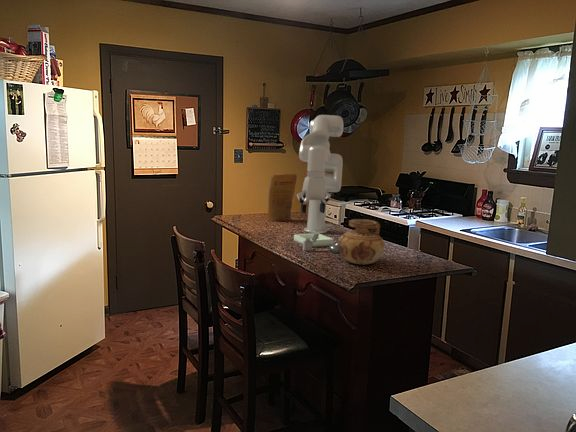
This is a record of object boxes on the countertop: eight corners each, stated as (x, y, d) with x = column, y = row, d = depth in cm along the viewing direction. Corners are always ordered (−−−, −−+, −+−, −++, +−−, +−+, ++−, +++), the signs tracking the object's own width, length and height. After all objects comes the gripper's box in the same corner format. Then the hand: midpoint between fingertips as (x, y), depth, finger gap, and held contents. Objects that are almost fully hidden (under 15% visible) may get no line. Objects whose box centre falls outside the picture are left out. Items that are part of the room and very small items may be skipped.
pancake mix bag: (296, 221, 290) (299, 174, 285) (268, 222, 281) (271, 174, 276) (291, 219, 296) (294, 173, 291) (263, 220, 286) (266, 173, 282)
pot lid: (339, 248, 225) (340, 241, 225) (349, 253, 219) (350, 245, 218) (325, 249, 222) (326, 242, 221) (335, 254, 215) (335, 246, 214)
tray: (318, 238, 244) (318, 233, 244) (333, 245, 232) (333, 239, 232) (293, 240, 237) (294, 234, 237) (308, 247, 225) (308, 240, 225)
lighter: (304, 250, 218) (305, 233, 216) (302, 249, 219) (303, 232, 218) (318, 250, 221) (319, 233, 219) (316, 249, 222) (317, 232, 221)
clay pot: (355, 263, 189) (349, 214, 193) (333, 269, 206) (327, 223, 210) (395, 260, 197) (388, 213, 201) (371, 266, 214) (364, 222, 217)
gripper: (327, 174, 222) (324, 211, 224) (294, 173, 213) (292, 211, 216) (336, 175, 215) (333, 213, 218) (302, 175, 207) (300, 214, 209)
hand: (312, 212), depth 217 cm, fingers open, 9 cm apart
